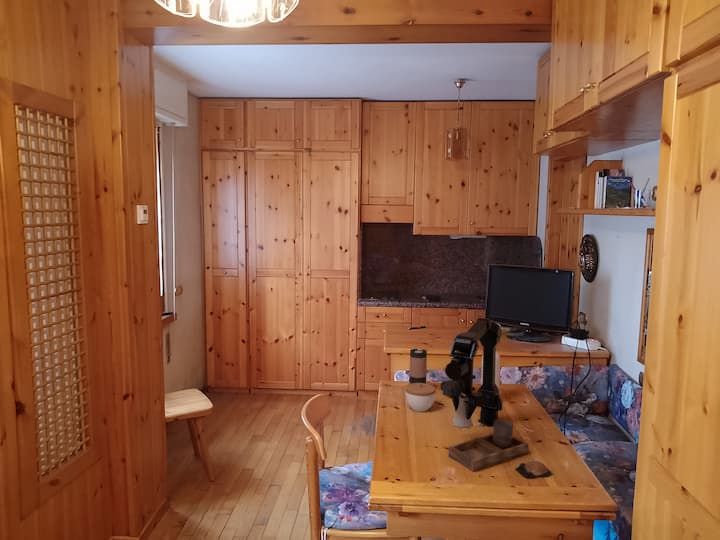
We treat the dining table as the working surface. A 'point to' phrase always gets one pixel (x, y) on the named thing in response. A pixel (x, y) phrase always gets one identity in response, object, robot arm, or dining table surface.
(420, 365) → the travel mug
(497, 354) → the bottle
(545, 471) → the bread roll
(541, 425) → the dining table surface
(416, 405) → the lidded bowl
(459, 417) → the flask
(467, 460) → the cruet stand
